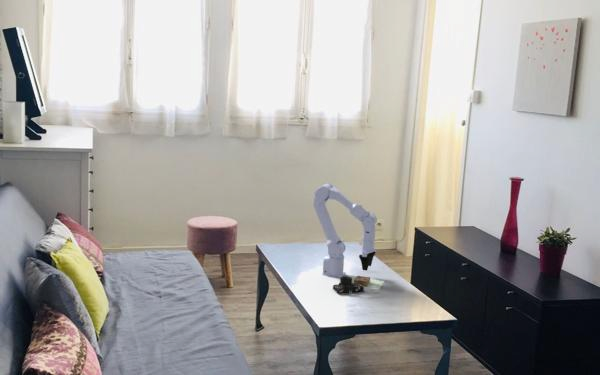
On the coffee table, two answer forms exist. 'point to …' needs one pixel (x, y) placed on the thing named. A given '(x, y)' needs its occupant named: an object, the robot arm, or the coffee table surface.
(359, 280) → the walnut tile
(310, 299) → the coffee table surface
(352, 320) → the coffee table surface
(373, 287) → the mat
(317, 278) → the coffee table surface
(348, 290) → the film camera
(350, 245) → the coffee table surface
